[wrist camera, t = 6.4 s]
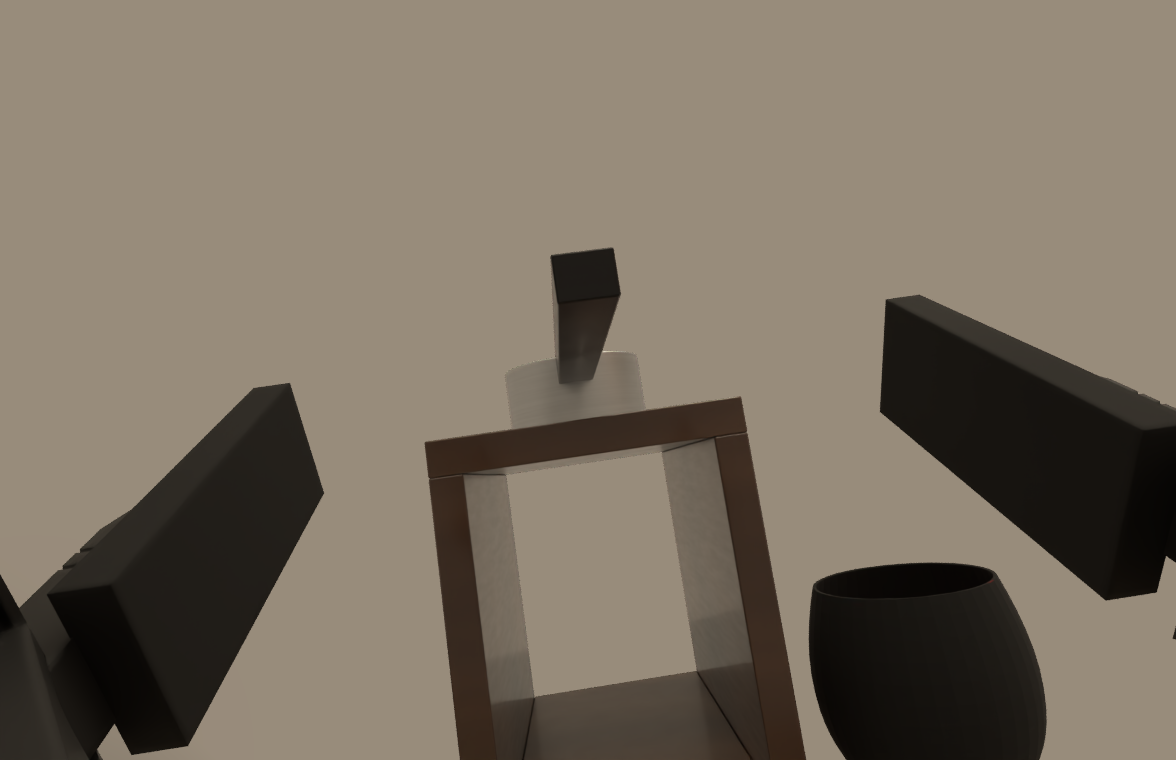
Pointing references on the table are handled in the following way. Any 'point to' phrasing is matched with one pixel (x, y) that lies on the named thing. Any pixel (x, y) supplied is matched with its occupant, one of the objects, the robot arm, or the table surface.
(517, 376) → the pan
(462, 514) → the shelf
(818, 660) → the wine glass
